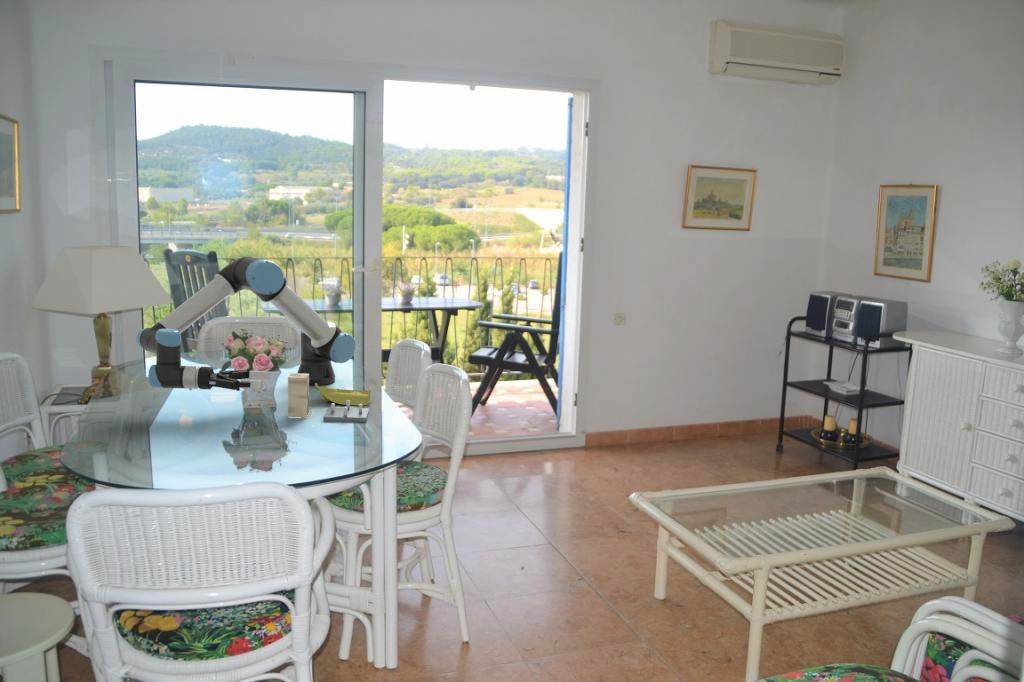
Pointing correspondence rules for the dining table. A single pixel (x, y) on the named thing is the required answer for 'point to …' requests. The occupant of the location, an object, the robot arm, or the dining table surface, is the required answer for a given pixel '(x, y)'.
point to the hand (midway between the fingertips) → (265, 380)
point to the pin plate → (346, 413)
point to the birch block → (298, 395)
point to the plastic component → (344, 395)
